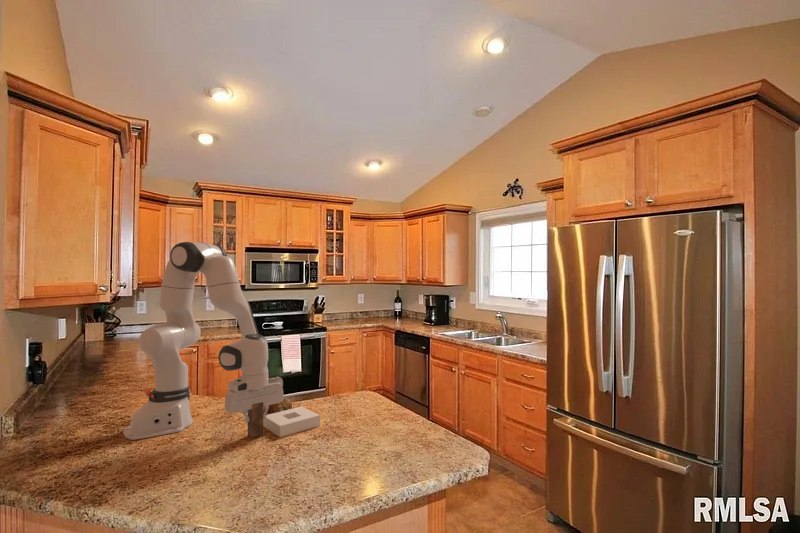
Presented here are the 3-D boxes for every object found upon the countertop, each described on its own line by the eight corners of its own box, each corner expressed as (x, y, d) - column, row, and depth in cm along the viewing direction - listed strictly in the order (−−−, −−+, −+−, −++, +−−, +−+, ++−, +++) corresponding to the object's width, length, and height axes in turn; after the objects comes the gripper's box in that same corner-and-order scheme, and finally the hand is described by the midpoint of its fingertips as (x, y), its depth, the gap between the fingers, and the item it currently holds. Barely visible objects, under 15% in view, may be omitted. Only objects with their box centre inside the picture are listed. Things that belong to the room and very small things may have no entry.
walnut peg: (252, 439, 146) (252, 404, 146) (247, 436, 149) (247, 402, 149) (263, 436, 148) (263, 402, 148) (258, 433, 151) (258, 399, 151)
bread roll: (294, 418, 176) (296, 399, 180) (285, 415, 167) (288, 395, 171) (271, 418, 177) (274, 398, 181) (261, 415, 168) (265, 394, 171)
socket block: (280, 437, 147) (280, 425, 147) (263, 426, 158) (263, 415, 158) (320, 425, 158) (320, 415, 158) (301, 416, 168) (301, 406, 168)
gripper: (278, 374, 158) (278, 411, 158) (223, 384, 144) (223, 424, 144) (286, 377, 153) (286, 415, 153) (229, 388, 140) (229, 429, 139)
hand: (255, 420), depth 149 cm, fingers closed on walnut peg, 4 cm apart
